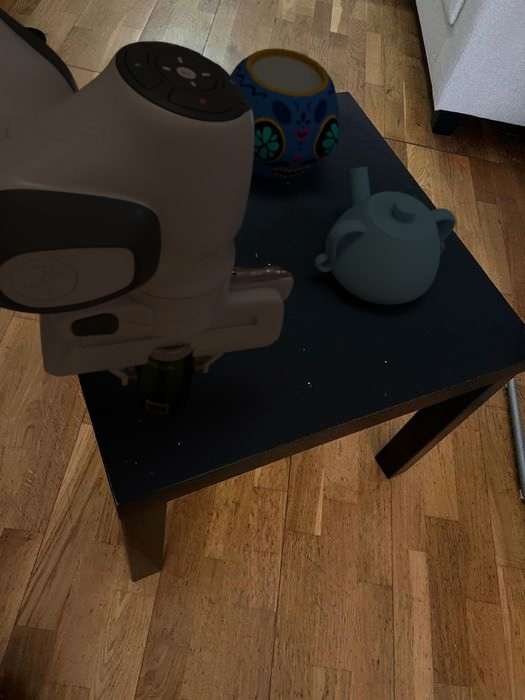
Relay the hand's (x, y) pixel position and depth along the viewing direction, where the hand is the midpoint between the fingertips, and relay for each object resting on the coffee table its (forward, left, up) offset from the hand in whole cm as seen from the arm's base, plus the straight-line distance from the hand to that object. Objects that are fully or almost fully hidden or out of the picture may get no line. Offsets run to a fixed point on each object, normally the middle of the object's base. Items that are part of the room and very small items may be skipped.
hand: (163, 372), depth 51 cm
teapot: (+33, +18, -9) cm, 38 cm away
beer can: (0, 0, -5) cm, 5 cm away
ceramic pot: (+25, +40, -9) cm, 48 cm away
